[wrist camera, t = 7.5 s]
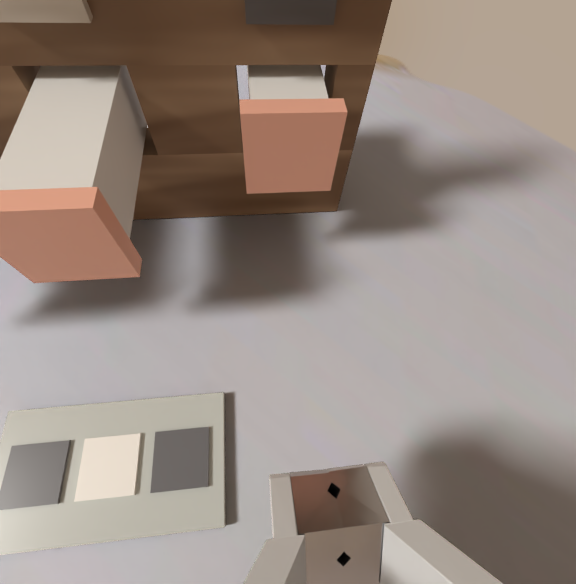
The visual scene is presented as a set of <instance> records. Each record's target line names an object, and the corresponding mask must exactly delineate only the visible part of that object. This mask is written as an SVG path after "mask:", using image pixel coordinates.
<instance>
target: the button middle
mask: <svg viewBox="0 0 576 584" xmlns="http://www.w3.org/2000/svg"><path fill="white" fill-rule="evenodd" d="M146 129H147V122H146V119H145V117H144V114H143V111H142V108H141V105H140V103H139V100H138V97H137V94H136V91H135V89H134V86H133V83H132V80H131V77H130V75H129V72H128V69H127V66H126V65H123V66H40V68H39V71H38V73H37V75H36V78H35V80H34V82H33V85H32V87H31V89H30V92H29V94H28V96H27V98H26V101H25V103H24V105H23V108H22V110H21V112H20V115H19V117H18V119H17V122H16V124H15V126H14V129H13V131H12V133H11V135H10V138H9V140H8V142H7V145H6V147H5V149H4V152H3V154H2V156H1V159H0V257H1V258H2V259H4V260H5V261H6V262H7V263H9V264H10V265H11V266H13V267H14V268H15V269H16V270H18V271H19V272H20V273H22V274H23V275H24V276H25V277H27V278H28V279H29V280H30V281H32V282H33V283H43V282H60V281H78V280H95V279H113V278H130V277H140V272H141V264H142V258H141V257H140V255H139V253H138V252H137V250H136V249H135V247H134V245H133V244H132V242H131V240H130V235H131V228H132V222H133V215H134V209H135V202H136V195H137V189H138V182H139V176H140V169H141V162H142V156H143V149H144V143H145V136H146Z"/></svg>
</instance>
